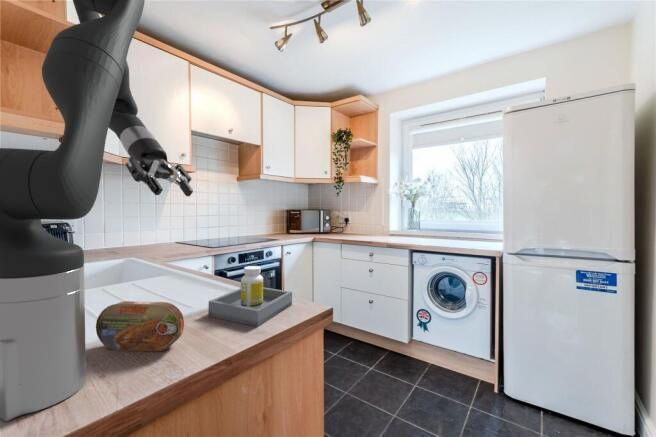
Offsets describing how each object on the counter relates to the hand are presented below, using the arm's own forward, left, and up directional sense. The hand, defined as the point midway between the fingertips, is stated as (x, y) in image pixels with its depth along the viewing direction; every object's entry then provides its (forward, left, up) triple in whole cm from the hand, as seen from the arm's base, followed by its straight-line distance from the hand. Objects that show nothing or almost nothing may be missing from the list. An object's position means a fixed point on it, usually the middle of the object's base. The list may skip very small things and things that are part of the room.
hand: (175, 193), depth 70 cm
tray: (+8, -18, -29) cm, 35 cm away
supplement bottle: (+7, -17, -28) cm, 34 cm away
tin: (-16, -11, -29) cm, 35 cm away
